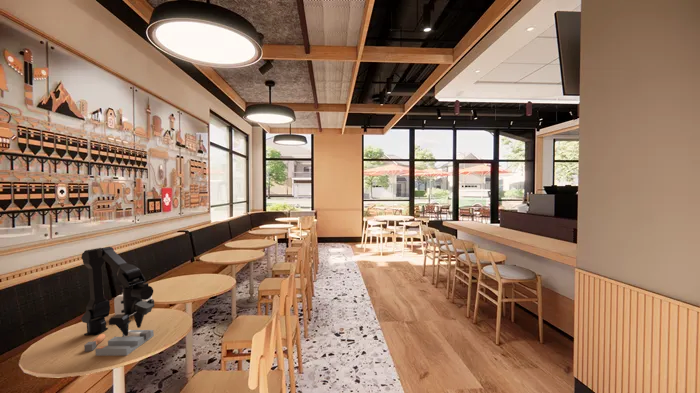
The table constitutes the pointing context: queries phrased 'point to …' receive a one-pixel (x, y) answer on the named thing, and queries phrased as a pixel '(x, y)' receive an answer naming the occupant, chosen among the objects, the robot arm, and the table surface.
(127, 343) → the ribbed grooved tray
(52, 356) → the table surface
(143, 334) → the white-handled mallet
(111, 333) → the table surface
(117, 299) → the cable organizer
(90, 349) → the orange-handled mallet
